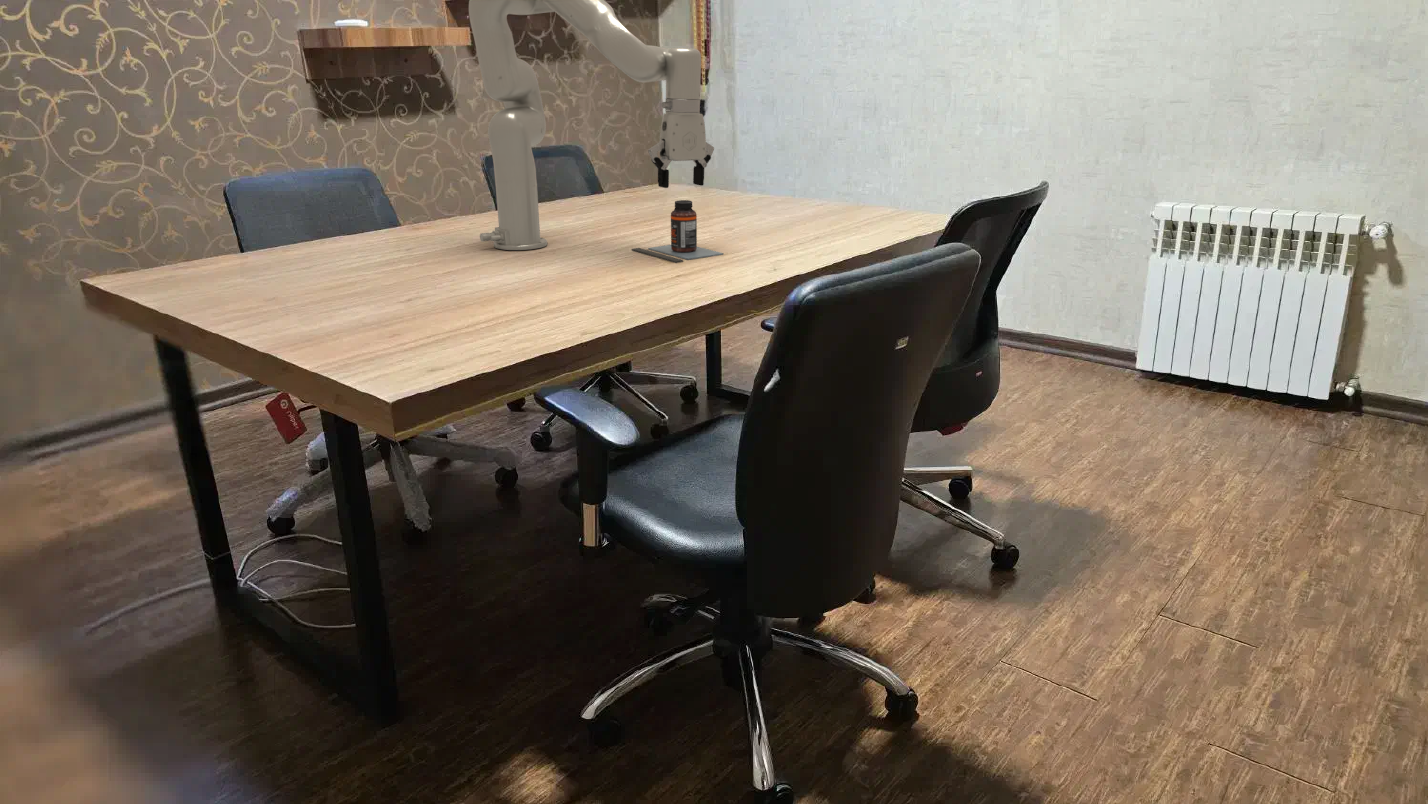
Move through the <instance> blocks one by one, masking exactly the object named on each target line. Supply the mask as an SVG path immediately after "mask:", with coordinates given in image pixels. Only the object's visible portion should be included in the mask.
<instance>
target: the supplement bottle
mask: <svg viewBox="0 0 1428 804" xmlns="http://www.w3.org/2000/svg"><path fill="white" fill-rule="evenodd" d="M697 224H698V223H697V212H696V211H695V210H694V209H693V201H692V200H687V199H685V200H684V199H679V200H675V201H674V209H673V210H672V211H671V212H670V245H671V249H672V250H673V251H675V252H685V253H686V252H693V251H695V250H696V249H697V247H698V243H697V242H698V239H697V237H698V235H697V233H698V232H697V230H698V229H697V227H698V226H697Z"/></svg>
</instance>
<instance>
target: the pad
mask: <svg viewBox="0 0 1428 804" xmlns="http://www.w3.org/2000/svg"><path fill="white" fill-rule="evenodd" d="M647 248H648V249H647V250H649V251H652V252H656V253H660V254H663V255H667V256H671V257H674V258H678V259H681V260H683V259H684V260H686V261H689V260H697V259H703V258H710V257H717V256H721V255H722V256H723V255H724V252H720V251H716V250H712V249H708V248H704V247H700V246H697V249H696V250H695V251H693V252H686V253H685V252H675V251H673V250H672V249H671V244H665V245H660V246H652V247H647Z"/></svg>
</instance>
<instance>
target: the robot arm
mask: <svg viewBox="0 0 1428 804" xmlns="http://www.w3.org/2000/svg"><path fill="white" fill-rule="evenodd" d="M543 13H556V15H558V16H559V17H561V18H562V19H563V20H564V21H566V22H567V23H568V24H569V25H571V26H572V27H573V28H574V29H576V30H577V31H578V32H579V33H580V34H582V36H584V37H585V38H586V39H587V40H589V42H590V43H591V45H592V46H593V47H595V49H597V50H598V52H599V53H600V54H601V55H603V56H604V57H605V59H607V60H608V61H609V62H610V63H611V64H613V65H614V66H615V67H616V68H618V69H619V70H620V71H621V72H622V73H623V74H625V75H627V76H628V77H629V78H630V79H632V80H634V81H635V82H637V83H653V82H659V81H660V82H661V81H665V101H663V102H662V103H661V107H662V109H665V113H663V114H662V120H661V123H660V124H661V125H660V131H659V132H660V133H659V141H658V142H657V143H656V144H654V145H653V146H651V147H650V148H648V154H649V157H650V158H651V159H650V160H651V162H652V164H653V165H654V166H655V168H656V169H657V183H658V185H657V186H658V187H660V188H664V189H669V185H670V170H669V169H668V167H669V165H670V164H671V162H672V161H674V162H684V161H685V162H686V161H687V162H688V161H693V162H694V164H695V165H694V166H693V178H692V183H693V184H694V185H696V186H699V187H700V186H701V187H702V186H704V184H705V183H704V182H705V168H707V167H708V163H709V162H710V161H711V159H712V156H713V153H714V150H715V147H714V146H713V145H711V144H709V142H707V139H706V126H705V120H704V115H703V113H701V112H700V110H701V109H700V108H701V106H700V105H701V77H702V76H701V75H702V74H701V73H702V72H701V71H702V69H701V68H702V55H701V52H700V50H698V49H697V48H693V47H672V48H671V47H670V48H668V47H663V46H657V45H650V44H649V45H648V44H645V43H644V42H643V41H642V40H640V38H638V37H637V36H635V34H633V33H632V32H630V31H629V30H628V29H627V28H626V27H625V26H624V25H623V24H622V23H621V21H619V19H618V18H617V15H616V14H615V10H614V8H613V7H612V6H611V5H610V4H609V3H608V2H607V1H606V0H469V1H468V16H469V17H468V18H469V22H470V27H471V31H472V35H473V39H474V45H475V49H476V55H477V61H478V65H479V70H480V75H481V80H482V84H483V85H482V86H483V87H484V91H485V93H486V94H487V96H488V97H489V98H490V99H492V100H494V101H495V102H500V103H503V107H504V108H503V109H501V110H499V111H497V112H496V113H495V114H494V115H493V116H492V117H491V118H490V120H489V123H488V126H487V127H488V129H487V135H488V136H487V137H488V143H489V146H490V150H491V155H492V162H493V171H494V172H493V173H494V181H495V184H494V185H495V194H496V206H497V208H496V209H497V220H498V226H497V227H496V226H495V227H494V230H492V231H491V232H482V233H480V234H479V239H480V242H489V241H490V242H493V248H495V249H497V250H498V249H499V250H504V251H527V250H535V249H536V250H537V249H541V248H544V247H547V245H548V239H546V238H545V237H544V238H543V237H541V228H540V227H541V226H540V225H541V224H540V212H539V196H538V194H539V193H538V181H537V168H536V163H535V157H534V154H533V149H532V148H534V147H535V146H537V145H539V144H540V143H541V142H542V141H543V140H544V137H545V136H546V133H547V121H546V115H545V111H544V106H543V105H544V104H543V100H542V94H541V89H540V85H539V84H540V83H539V80H538V77H537V74H536V72H535V70H534V68H533V67H532V66H531V65H530V63H528V62H527V61H525V60H524V59H521V58H518V56H517V50H516V48H515V42H514V37H513V33H512V30H511V29H510V26H509V23H508V19H507V18H508V17H507V16H508V15H517V16H526V15H527V16H529V15H538V14H543ZM658 152H659V155H658Z"/></svg>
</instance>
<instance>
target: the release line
mask: <svg viewBox="0 0 1428 804" xmlns="http://www.w3.org/2000/svg"><path fill="white" fill-rule="evenodd" d="M631 251H632V252H636V253H640V254H643V255H646V256H649V257H650V256H651V257H653V258H656V259H661V260H664V261H667V262H670V263H675V264H678V263H683V262H684V260H683V259H682V258H679V257H675V256H671V255H668V254H664V253H660V252H657V251H653V250H650V249H644V248H642V247H641V248H640V247H635V248H631Z"/></svg>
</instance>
